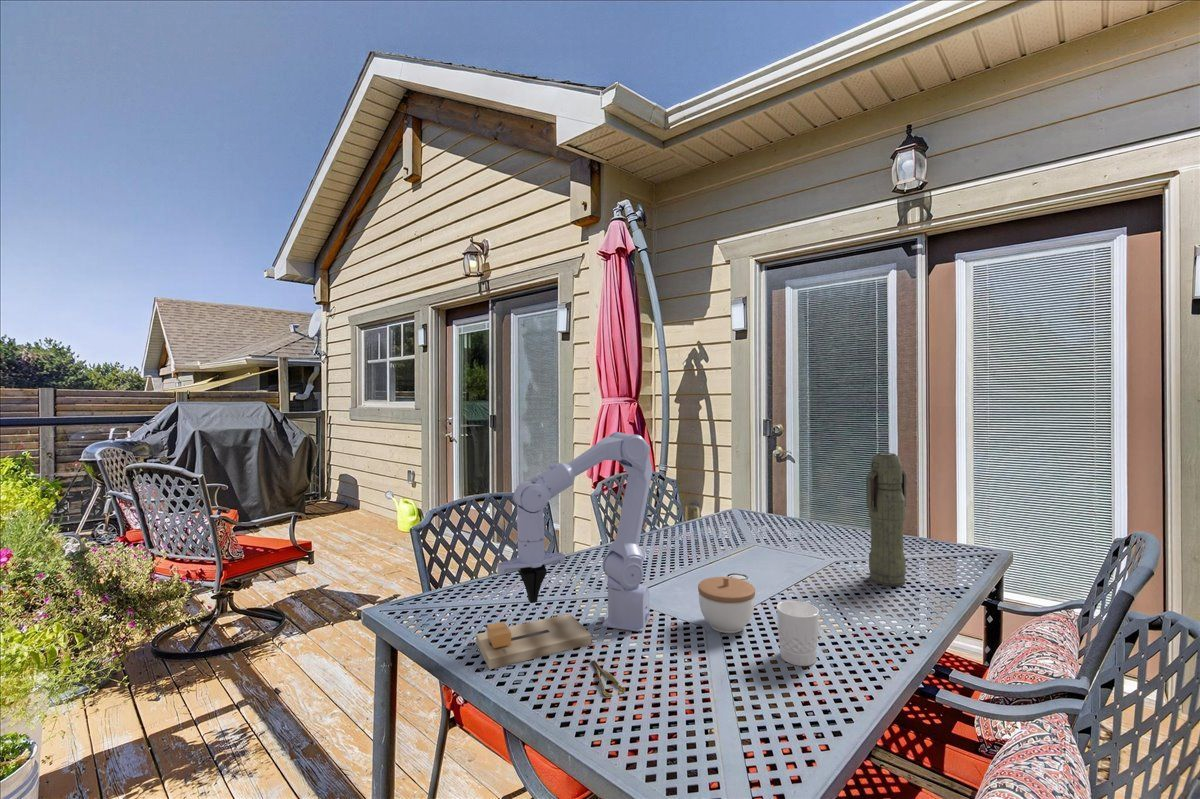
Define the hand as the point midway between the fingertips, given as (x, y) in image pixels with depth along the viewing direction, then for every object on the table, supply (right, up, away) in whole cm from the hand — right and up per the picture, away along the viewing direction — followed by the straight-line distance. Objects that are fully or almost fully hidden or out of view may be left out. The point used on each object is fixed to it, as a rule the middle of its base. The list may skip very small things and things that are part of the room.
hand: (532, 601), depth 113 cm
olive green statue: (+94, -7, +32) cm, 99 cm away
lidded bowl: (+43, -8, +7) cm, 45 cm away
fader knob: (-7, -7, -3) cm, 10 cm away
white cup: (+54, -9, -8) cm, 55 cm away
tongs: (+15, -10, -14) cm, 22 cm away
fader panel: (0, -9, 0) cm, 9 cm away
